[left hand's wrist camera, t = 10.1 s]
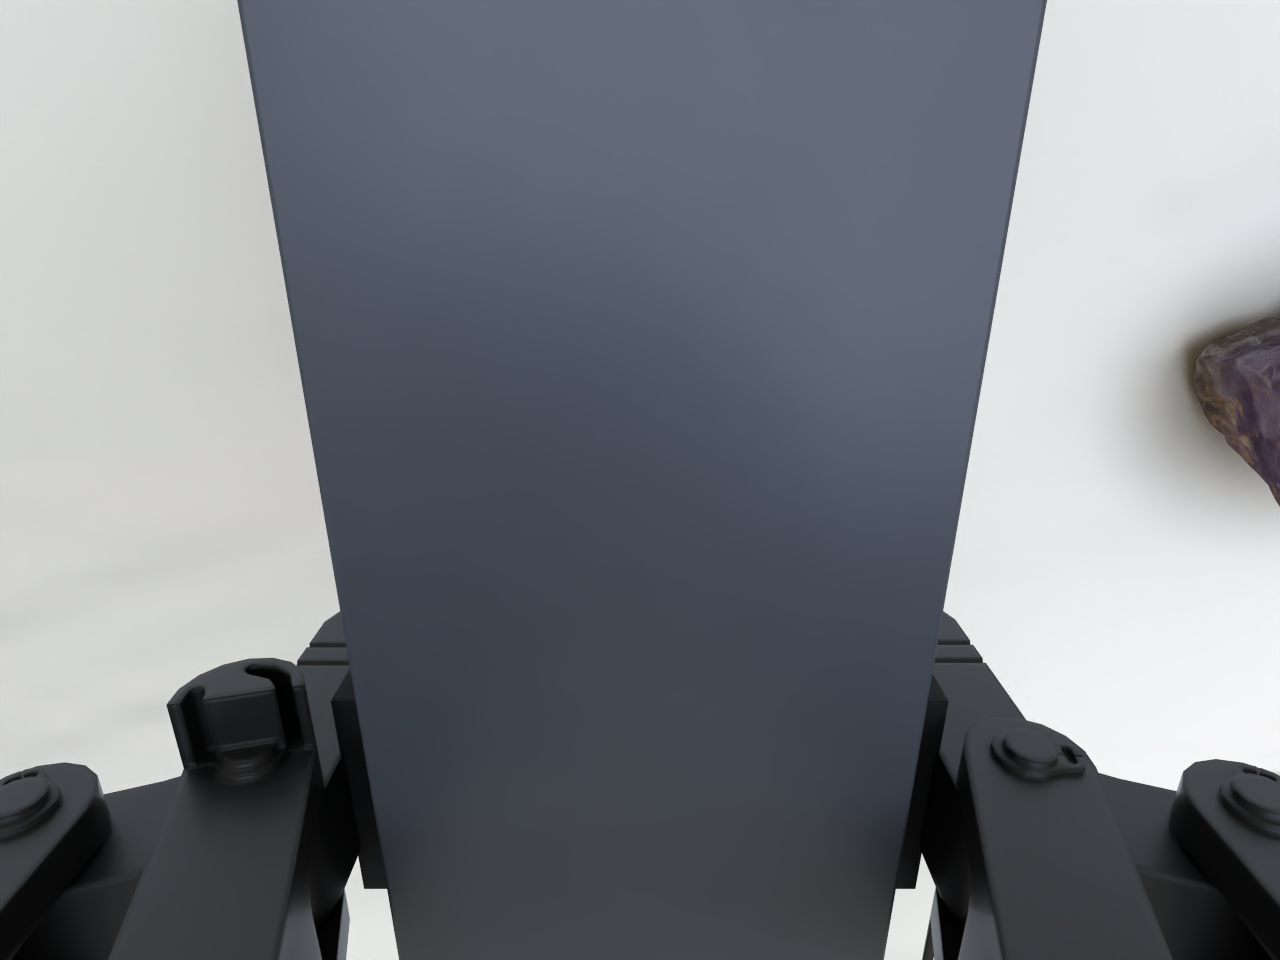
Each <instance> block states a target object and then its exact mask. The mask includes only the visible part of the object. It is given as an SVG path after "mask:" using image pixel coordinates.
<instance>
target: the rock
mask: <svg viewBox="0 0 1280 960" xmlns="http://www.w3.org/2000/svg"><path fill="white" fill-rule="evenodd" d="M1194 387H1195V392H1196V394H1197V396H1198V398H1199V400H1200V402H1201V404H1202V407H1203V410H1204V413H1205V415H1206V417H1207V419H1208V420H1209V421H1210V423H1211V424H1212V426H1214V427H1215V428H1216V429H1217V430H1219V431H1220V432H1221V433H1222V434H1223V435H1224V436H1225V438H1226V440H1227V443H1228V444H1229V445H1230V446H1231V447H1232V448H1233V449H1234V450H1235V451H1236V452H1238V453H1239V454H1240V456H1241V457H1242V458H1243V459H1244V460H1245V461H1246V462H1247V463H1248V464H1249V465H1250V466H1251V467H1252V468H1253V469H1254V470H1255V471H1256V472H1257V473H1258V474H1259V475H1260V476H1261V477H1262V478H1263V480H1264V481H1265V482H1266V483H1267V484H1268V485H1269V487H1270V490H1271V492H1272V494H1273V496H1274V498H1275V500H1276V501H1277V503H1278V504H1279V506H1280V319H1279V320H1277V319H1272V318H1265V319H1263V320H1260V321H1258V322H1256V323H1254V324H1252V325H1249V326H1248V327H1246V328H1245V329H1243V330H1241V331H1240V332H1238V333H1236V334H1232V335H1228V336H1225V337H1222V338H1218V339H1215V340H1213V341H1212V342H1211V343H1210V344H1209V345H1208V346H1207V347H1206V348H1205V349H1204V350H1203V352H1202V353H1201V354H1200V356H1199V357H1198V358H1197V359H1196V373H1195V375H1194Z"/></svg>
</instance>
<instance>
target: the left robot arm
mask: <svg viewBox="0 0 1280 960" xmlns="http://www.w3.org/2000/svg"><path fill="white" fill-rule="evenodd" d="M167 708H168V712H169V716H170V719H171V723H172V727H173V730H174V734H175V738H176V741H177V745H178V748H179V752H180V756H181V759H182V763H183V767H184V770H183V773H182V775H181V776H180V777H176V778H173V779H169V780H166V781H163V782H158V783H154V784H149V785H145V786H140V787H136V788H131V789H127V790H122V791H117V792H113V793H108V794H104V795H103V791H102V788H101V785H100V782H99V779H98V776H97V774H95V773H94V772H93V771H92V770H90V769H89V768H88V767H86V766H85V765H78V764H71V763H58V764H50V765H43V766H37V767H34V768H30V769H27V770H24V771H21V772H17V773H14V774H12V775H9V776H6V777H5V778H3V779H1V780H0V960H346V953H347V942H348V932H349V921H350V918H349V912H348V905H347V899H346V894H345V889H344V888H345V886H346V883H347V881H348V878H349V876H350V874H351V871H352V869H353V866H354V864H355V862H356V859H357V857H359V862H360V868H361V873H362V879H363V885H364V889H387V884H386V878H385V872H384V866H383V860H382V855H381V849H380V843H379V837H378V831H377V825H376V819H375V813H374V807H373V801H372V795H371V789H370V783H369V777H368V772H367V766H366V760H365V754H364V748H363V742H362V736H361V730H360V724H359V718H358V712H357V706H356V700H355V694H354V689H353V683H352V677H351V671H350V665H349V659H348V653H347V647H346V641H345V635H344V629H343V623H342V617H341V611H340V612H338V613H337V614H336V615H334V616H333V617H331V618H330V619H328V620H327V621H325V622H324V624H323V625H322V627H321V628H320V629H319V631H318V632H317V634H316V635H315V637H314V638H313V639H312V641H311V642H310V647H309V648H306V649H305V651H304V652H303V654H302V655H301V657H300V658H299V659H298V661H297V666H296V665H294V664H293V663H292V662H288V661H284V660H280V659H276V658H256V659H246V660H242V661H238V662H233V663H229V664H225V665H222V666H220V667H217V668H215V669H213V670H210V671H208V672H206V673H203V674H201V675H199V676H197V677H196V678H194V679H193V680H191V681H190V682H189V683H187V684H186V685H184V686H183V687H181V688H180V689H179V690H178V691H177V692H176V693H175V695H174V696H173V697H172V698H171V700H170V701H169V702H168V703H167ZM921 854H923V857H924V859H925V861H926V864H927V866H928V869H929V871H930V873H931V876H932V878H933V881H934V883H935V886H936V889H935V894H934V900H933V905H932V910H931V915H930V920H929V926H928V931H927V936H926V941H925V946H924V952H923V959H922V960H933V958H934V960H1280V776H1279V775H1277V774H1275V773H1273V772H1270V771H1267V770H1265V769H1262V768H1257V767H1256V766H1252V765H1248V764H1245V763H1241V762H1233V761H1226V760H1218V759H1214V760H1207V761H1200V762H1195V763H1193V764H1192V765H1191V766H1190V767H1188V768H1187V769H1186V770H1185V771H1183V774H1182V777H1181V780H1180V783H1179V786H1178V789H1177V791H1173V790H1168V789H1164V788H1159V787H1154V786H1150V785H1145V784H1141V783H1136V782H1132V781H1127V780H1123V779H1118V778H1115V777H1111V776H1108V775H1104V774H1101V773H1098V771H1097V769H1096V767H1095V765H1094V764H1093V762H1092V761H1091V759H1090V758H1089V757H1088V755H1087V754H1086V752H1085V751H1084V750H1083V749H1082V748H1080V747H1079V746H1078V745H1076V744H1075V743H1074V742H1073V741H1071V740H1070V739H1069V738H1068V737H1066V736H1065V735H1063V734H1061V733H1059V732H1056V731H1054V730H1052V729H1050V728H1048V727H1046V726H1044V725H1042V724H1038V723H1034V722H1030V721H1027V720H1026V719H1025V718H1024V716H1023V715H1022V713H1021V712H1020V711H1019V709H1018V708H1017V706H1016V705H1015V703H1014V702H1013V701H1012V699H1011V698H1010V696H1009V695H1008V694H1007V692H1006V691H1005V689H1004V688H1003V687H1002V685H1001V684H1000V682H999V681H998V679H997V678H996V677H995V675H994V674H993V672H992V671H991V670H990V668H989V667H988V665H987V664H986V663H983V658H982V657H981V655H980V654H979V653H978V651H977V650H976V648H975V647H974V646H973V645H970V640H969V638H968V637H967V636H966V634H965V633H964V631H963V630H962V629H961V627H960V626H959V624H958V623H957V622H956V620H955V619H954V618H952V617H951V616H949V615H948V614H946V613H945V612H943V614H942V620H941V625H940V631H939V637H938V643H937V649H936V655H935V661H934V667H933V672H932V678H931V684H930V690H929V696H928V702H927V708H926V714H925V719H924V725H923V731H922V737H921V743H920V749H919V755H918V761H917V766H916V772H915V778H914V784H913V790H912V796H911V802H910V808H909V813H908V819H907V825H906V831H905V837H904V843H903V849H902V855H901V860H900V866H899V872H898V878H897V884H896V889H915V887H916V882H917V876H918V870H919V865H920V859H921Z"/></svg>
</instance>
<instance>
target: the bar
mask: <svg viewBox="0 0 1280 960" xmlns="http://www.w3.org/2000/svg"><path fill="white" fill-rule="evenodd" d="M237 1H238V7H239V13H240V19H241V25H242V31H243V37H244V42H245V48H246V54H247V60H248V66H249V72H250V78H251V84H252V90H253V96H254V102H255V108H256V114H257V120H258V125H259V131H260V137H261V143H262V149H263V155H264V161H265V167H266V173H267V179H268V185H269V191H270V197H271V203H272V208H273V214H274V220H275V226H276V232H277V238H278V244H279V250H280V256H281V262H282V268H283V274H284V280H285V285H286V291H287V297H288V303H289V309H290V315H291V321H292V327H293V333H294V339H295V345H296V351H297V357H298V363H299V368H300V374H301V380H302V386H303V392H304V398H305V404H306V410H307V416H308V422H309V428H310V434H311V440H312V446H313V451H314V457H315V463H316V469H317V475H318V481H319V487H320V493H321V499H322V505H323V511H324V517H325V523H326V529H327V534H328V540H329V546H330V552H331V558H332V564H333V570H334V576H335V582H336V588H337V594H338V600H339V606H340V611H341V617H342V623H343V629H344V635H345V641H346V647H347V653H348V659H349V665H350V671H351V677H352V683H353V689H354V694H355V700H356V706H357V712H358V718H359V724H360V730H361V736H362V742H363V748H364V754H365V760H366V766H367V772H368V777H369V783H370V789H371V795H372V801H373V807H374V813H375V819H376V825H377V831H378V837H379V843H380V849H381V855H382V860H383V866H384V872H385V878H386V884H387V890H388V896H389V902H390V908H391V914H392V920H393V926H394V932H395V938H396V943H397V949H398V955H399V960H884V955H885V949H886V943H887V937H888V931H889V925H890V919H891V913H892V907H893V902H894V896H895V890H896V884H897V878H898V872H899V866H900V860H901V855H902V849H903V843H904V837H905V831H906V825H907V819H908V813H909V808H910V802H911V796H912V790H913V784H914V778H915V772H916V766H917V761H918V755H919V749H920V743H921V737H922V731H923V725H924V719H925V714H926V708H927V702H928V696H929V690H930V684H931V678H932V672H933V667H934V661H935V655H936V649H937V643H938V637H939V631H940V625H941V620H942V614H943V608H944V602H945V596H946V590H947V584H948V578H949V572H950V567H951V561H952V555H953V549H954V543H955V537H956V531H957V525H958V520H959V514H960V508H961V502H962V496H963V490H964V484H965V478H966V473H967V467H968V461H969V455H970V449H971V443H972V437H973V431H974V426H975V420H976V414H977V408H978V402H979V396H980V390H981V384H982V379H983V373H984V367H985V361H986V355H987V349H988V343H989V337H990V332H991V326H992V320H993V314H994V308H995V302H996V296H997V290H998V284H999V279H1000V273H1001V267H1002V261H1003V255H1004V249H1005V243H1006V237H1007V232H1008V226H1009V220H1010V214H1011V208H1012V202H1013V196H1014V190H1015V185H1016V179H1017V173H1018V167H1019V161H1020V155H1021V149H1022V143H1023V138H1024V132H1025V126H1026V120H1027V114H1028V108H1029V102H1030V96H1031V91H1032V85H1033V79H1034V73H1035V67H1036V61H1037V55H1038V49H1039V44H1040V38H1041V32H1042V26H1043V20H1044V14H1045V8H1046V2H1047V0H237Z"/></svg>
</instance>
